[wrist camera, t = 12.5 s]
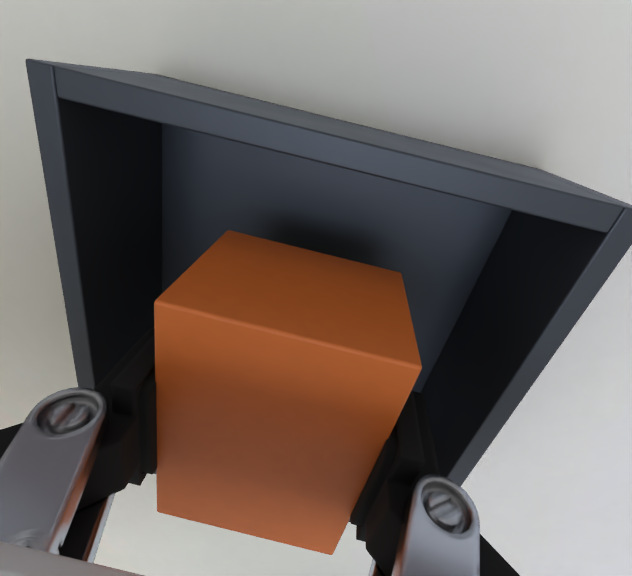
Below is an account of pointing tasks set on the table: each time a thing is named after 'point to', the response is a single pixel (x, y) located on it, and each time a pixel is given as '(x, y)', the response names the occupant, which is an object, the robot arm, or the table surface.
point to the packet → (277, 387)
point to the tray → (318, 229)
